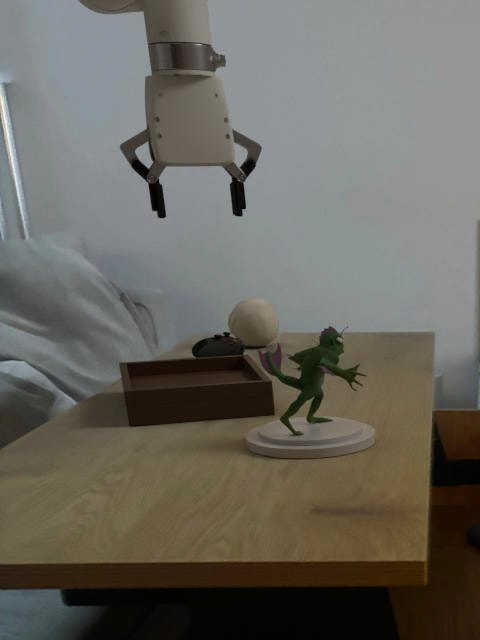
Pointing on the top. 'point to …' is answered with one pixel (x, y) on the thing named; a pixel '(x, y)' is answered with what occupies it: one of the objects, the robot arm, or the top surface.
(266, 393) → the tray
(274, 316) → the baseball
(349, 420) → the monster figurine
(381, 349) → the top surface
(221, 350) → the gaming controller
